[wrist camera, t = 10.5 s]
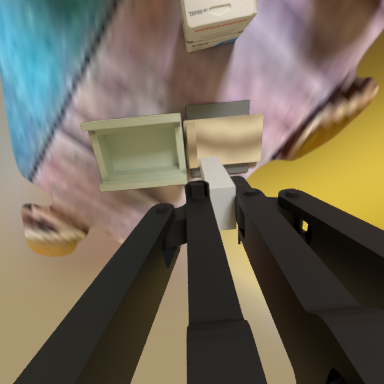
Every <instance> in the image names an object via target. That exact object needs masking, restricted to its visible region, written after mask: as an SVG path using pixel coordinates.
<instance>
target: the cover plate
mask: <svg viewBox="0 0 384 384" xmlns="http://www.w3.org/2000/svg"><path fill="white" fill-rule="evenodd" d="M263 115H264V114H253V115H242V116H230V117H219V118H207V119H196V120H184V121H183V126H184V137H185V148H186V159H187V168H189V167H190V168H198V167H200V159H199V158H206V157H215V156H217V157H218V158H219V160H220V162H221V163H222V165H224V164H236V163H247V162H259V161H261V148H262V131H263Z"/></svg>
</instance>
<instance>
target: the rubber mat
mask: <svg viewBox="0 0 384 384" xmlns="http://www.w3.org/2000/svg"><path fill="white" fill-rule="evenodd" d="M185 107H186V118H187V120H196V119H207V118H219V117H230V116H242V115H249V107H250V100H243V101H232V102H222V103H212V104H201V105H191V106H185ZM223 166H224V168H225V170H226V171H227V173H239V172H248V162H247V163H236V164H224V165H223ZM191 171H192V177H197V176H201V170H200V167H198V168H191Z"/></svg>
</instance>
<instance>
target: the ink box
mask: <svg viewBox="0 0 384 384" xmlns="http://www.w3.org/2000/svg"><path fill="white" fill-rule="evenodd" d="M180 6H181V19H182V25H183V31H184V38H185V44H186V50H187V52H192V51H197V50H201V49H205V48H209V47H213V46H217V45H222V44H226V43H230V42H234V41H236V39H237V38H238V37H239V36H240V34H241V33H242V32H243V31H244V29H245V28H246V27H247V26H248V24H249V23H250V22H251V21H252V19H253V18H254V17H255V15H256V14H257V0H180Z"/></svg>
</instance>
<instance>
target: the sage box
mask: <svg viewBox="0 0 384 384" xmlns="http://www.w3.org/2000/svg"><path fill="white" fill-rule="evenodd" d="M80 126H81V129H82V131H88V132H89V136H90V139H91V143H92V146H93V150H94V153H95V157H96V160H97V164H98V167H99V171H100V174H101V178H102V181H103V182H102V183H101V184H100V185H99V189H100V192H106V191H117V190H127V189H138V188H148V187H159V186H169V185H180V184H187V168H186V158H185V149H184V139H183V129H182V120H181V112H179V113H168V114H158V115H148V116H137V117H127V118H117V119H106V120H97V121H90V122H84V123H80Z"/></svg>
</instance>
